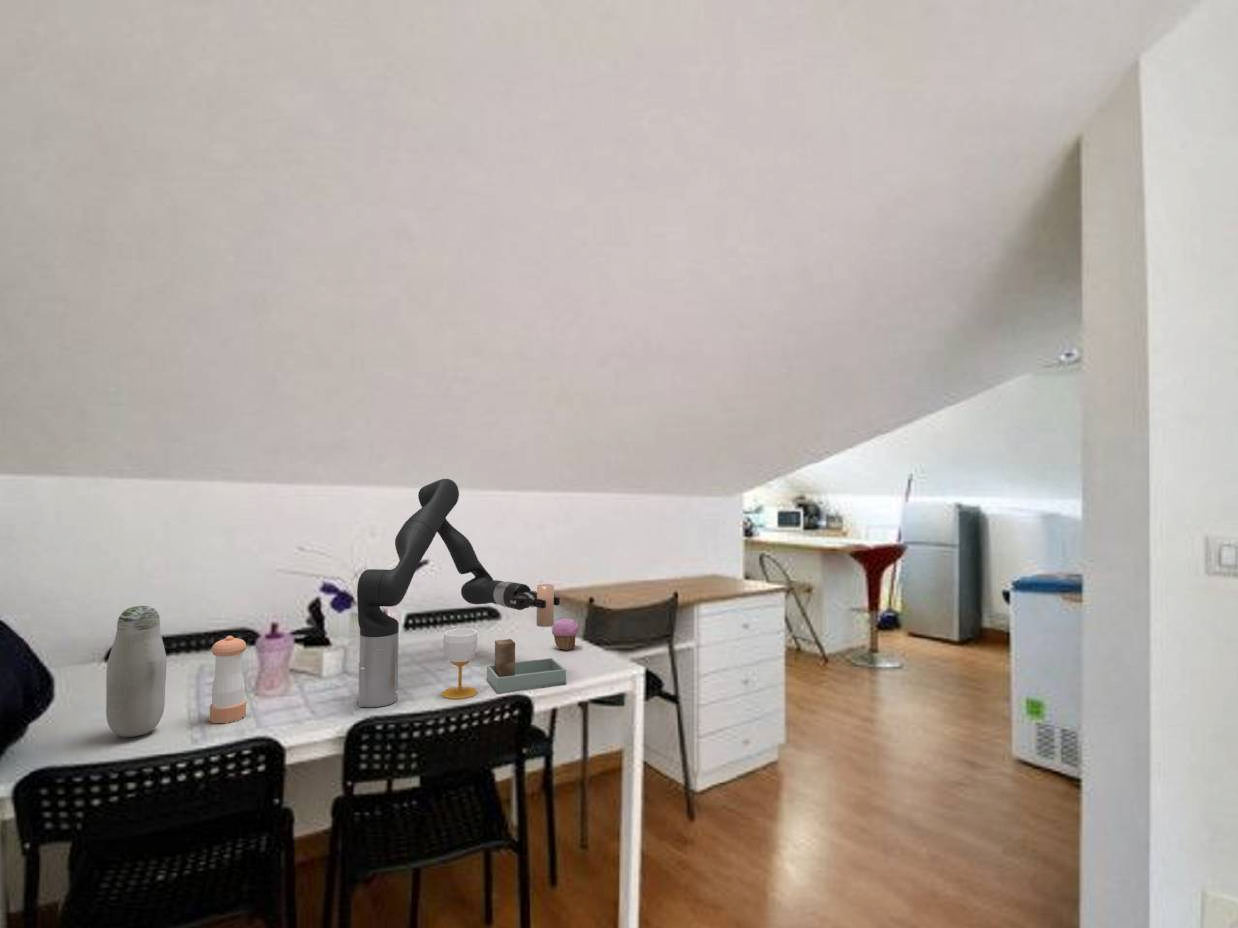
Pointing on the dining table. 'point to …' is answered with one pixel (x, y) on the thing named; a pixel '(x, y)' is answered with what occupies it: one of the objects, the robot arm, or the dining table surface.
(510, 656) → the walnut block
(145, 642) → the grey bottle
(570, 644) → the cupcake
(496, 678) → the tray
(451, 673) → the dining table surface
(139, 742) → the dining table surface
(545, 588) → the terracotta cylinder
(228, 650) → the salt shaker
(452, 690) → the cup
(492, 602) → the robot arm
